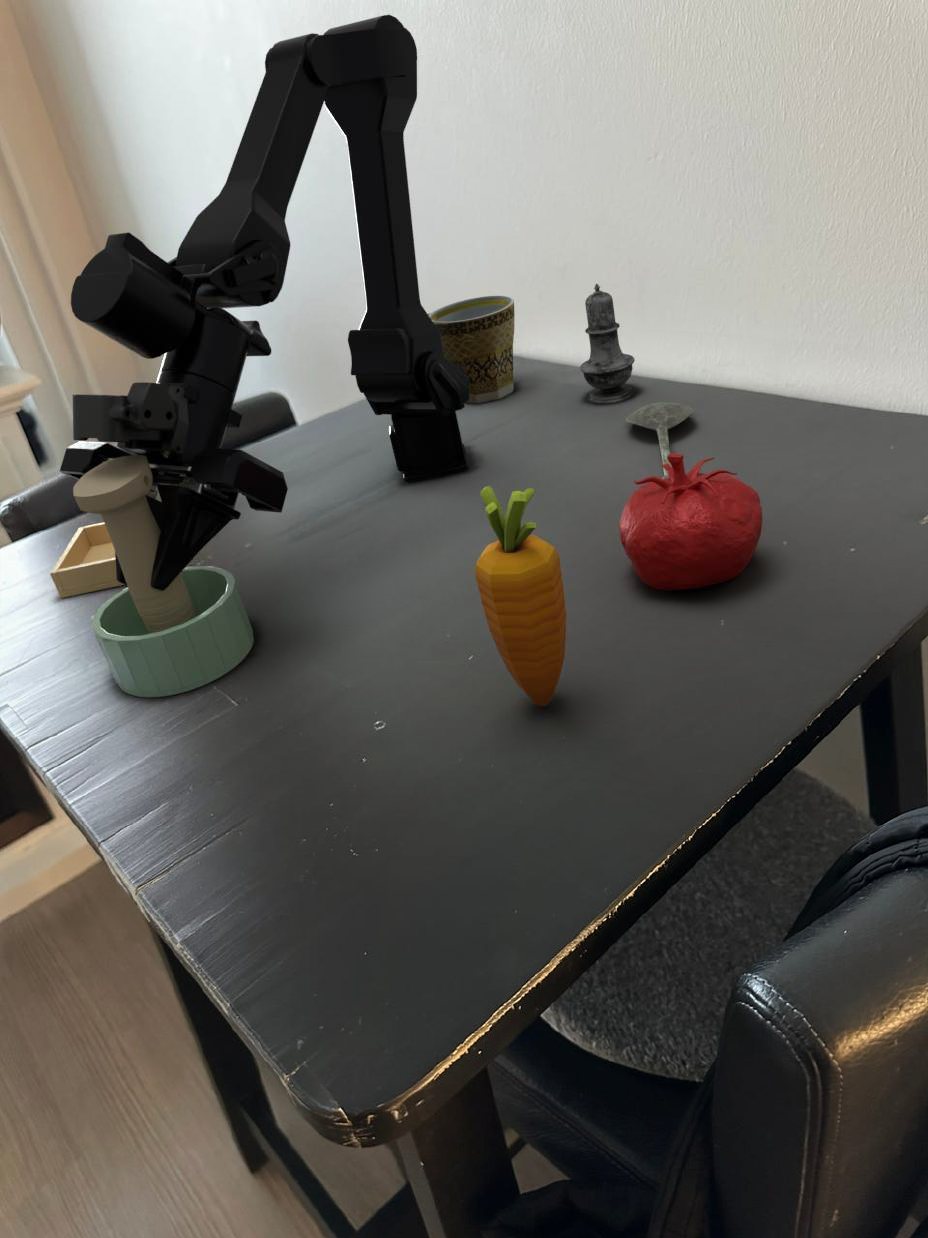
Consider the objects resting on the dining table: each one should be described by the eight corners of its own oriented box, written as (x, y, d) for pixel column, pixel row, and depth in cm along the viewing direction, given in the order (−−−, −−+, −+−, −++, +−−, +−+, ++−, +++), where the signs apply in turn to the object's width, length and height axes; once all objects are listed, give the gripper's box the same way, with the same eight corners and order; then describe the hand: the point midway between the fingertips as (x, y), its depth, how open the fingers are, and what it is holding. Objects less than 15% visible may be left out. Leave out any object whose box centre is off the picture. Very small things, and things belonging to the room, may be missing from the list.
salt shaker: (636, 400, 108) (623, 286, 103) (581, 407, 110) (565, 295, 104) (639, 382, 113) (627, 272, 107) (586, 389, 115) (571, 280, 109)
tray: (177, 531, 102) (169, 508, 101) (158, 577, 93) (148, 552, 92) (88, 550, 103) (78, 527, 101) (60, 598, 94) (49, 573, 92)
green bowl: (261, 608, 84) (242, 555, 81) (245, 680, 74) (224, 621, 72) (133, 635, 84) (111, 582, 82) (101, 709, 75) (75, 652, 72)
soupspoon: (694, 417, 103) (629, 429, 105) (690, 384, 102) (624, 397, 103) (709, 501, 84) (628, 514, 86) (703, 463, 83) (622, 477, 84)
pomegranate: (769, 599, 70) (762, 473, 65) (622, 610, 72) (605, 490, 68) (760, 533, 78) (753, 418, 73) (628, 545, 81) (614, 434, 76)
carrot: (500, 692, 67) (454, 480, 59) (575, 676, 66) (539, 462, 59) (509, 736, 62) (461, 514, 55) (590, 720, 62) (552, 494, 55)
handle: (224, 623, 81) (158, 451, 74) (199, 671, 76) (125, 491, 68) (168, 630, 82) (97, 460, 74) (139, 677, 77) (59, 500, 69)
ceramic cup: (545, 381, 120) (531, 295, 115) (489, 412, 115) (472, 323, 110) (466, 374, 129) (450, 294, 124) (410, 403, 123) (391, 320, 118)
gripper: (30, 340, 75) (-33, 542, 73) (206, 333, 65) (138, 568, 63) (146, 402, 85) (93, 583, 83) (316, 405, 74) (260, 612, 72)
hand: (139, 586), depth 75 cm, fingers closed on handle, 3 cm apart
